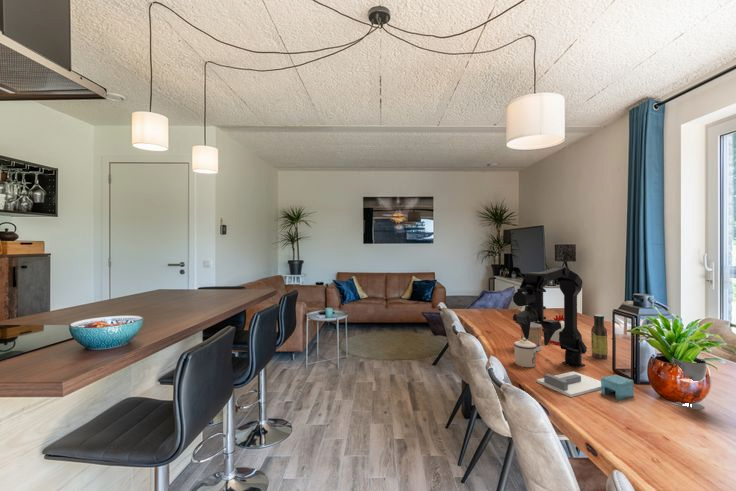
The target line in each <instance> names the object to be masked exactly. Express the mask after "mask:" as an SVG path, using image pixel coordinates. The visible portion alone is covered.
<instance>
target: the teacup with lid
mask: <svg viewBox="0 0 736 491" xmlns="http://www.w3.org/2000/svg"><path fill="white" fill-rule="evenodd" d="M513 346H514V364H515V365H517V366H519V367H522V368H534V367H536V366H537V351H536V345H535V344H534V343H532V342H530V341H528V340H527V339H525V338H523V340H521V339H520V340H517V341H515V342H514V343H513Z"/></svg>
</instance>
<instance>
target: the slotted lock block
mask: <svg viewBox="0 0 736 491" xmlns="http://www.w3.org/2000/svg"><path fill="white" fill-rule="evenodd" d="M600 381H601V389H600V393H601V394H602V395H608V394H612V393H614V392H615V400H618V401H623V400H625V399H629V398H632V397H634V396H635V394H634V393H635V391H634V380H633V379H630V378H627V377H624V376H621V375H618V374H612V375H608V376H604V377H600Z"/></svg>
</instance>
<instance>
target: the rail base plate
mask: <svg viewBox="0 0 736 491" xmlns="http://www.w3.org/2000/svg"><path fill="white" fill-rule="evenodd" d="M543 376H544V377H542V378H537V379H536V383H538V384H540V385H542V386H544V387H546V388H549V389H551V390H554V391H556V392H558V393H560V394H563V395H565V396H567V397H569V398H573V397H578V396H581V395H585V394H589V393H593V392H596V391H601V380H598V379H596V378H593V377H590V376H588V375H585V374H582V373H579V372H576V371H568V372H564V373H560V374H556V375H554V374H550V373H544V374H543Z"/></svg>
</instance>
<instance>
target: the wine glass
mask: <svg viewBox="0 0 736 491" xmlns="http://www.w3.org/2000/svg"><path fill="white" fill-rule="evenodd" d="M701 360H702V361H701ZM695 361H696V362H697V363H691V362H685V361H681V360H678V359H675V358H674V357H673V356H672V364H673V363H674V364H676V365H677V366H679V367H680V368H681V369H682V371H683V372H685V375H686V376H687V377H689V378H690V379H692V380H693V381H700V382H702V380H703V379H704V378H705V375H706V372H707V361H706V360H704V359H702V358H698V357H695ZM675 403H676V404H678V405H679V406H682V407H683V408H688V409H693V410H700V411H701V410H705V408H706V407H705V405H703V404H701V403H698V402H696V403H681V402H675Z"/></svg>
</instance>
